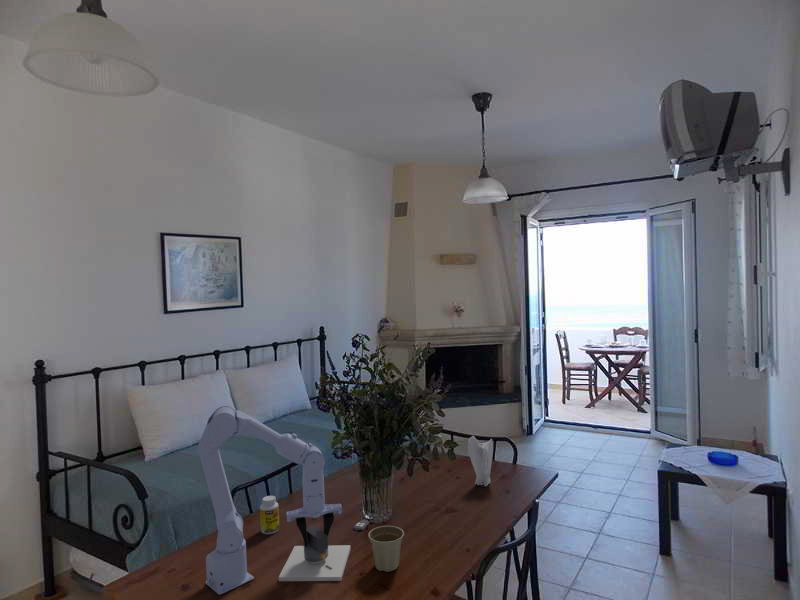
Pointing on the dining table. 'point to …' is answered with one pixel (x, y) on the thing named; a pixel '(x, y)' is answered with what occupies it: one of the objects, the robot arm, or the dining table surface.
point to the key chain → (361, 525)
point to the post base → (316, 565)
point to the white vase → (481, 459)
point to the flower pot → (386, 547)
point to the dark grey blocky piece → (316, 545)
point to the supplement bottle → (269, 515)
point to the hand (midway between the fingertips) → (315, 543)
